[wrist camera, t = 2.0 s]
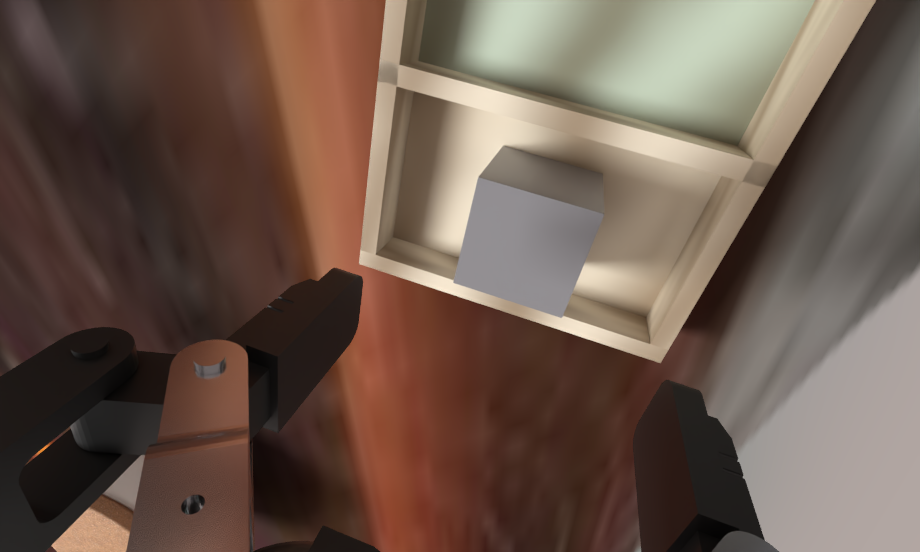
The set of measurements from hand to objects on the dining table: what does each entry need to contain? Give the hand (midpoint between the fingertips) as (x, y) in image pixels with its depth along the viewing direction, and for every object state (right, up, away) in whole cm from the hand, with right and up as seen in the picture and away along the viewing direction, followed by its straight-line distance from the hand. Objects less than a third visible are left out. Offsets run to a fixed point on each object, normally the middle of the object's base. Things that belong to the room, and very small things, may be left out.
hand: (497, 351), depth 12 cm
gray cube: (+3, +5, +9) cm, 11 cm away
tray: (+4, +9, +8) cm, 13 cm away
